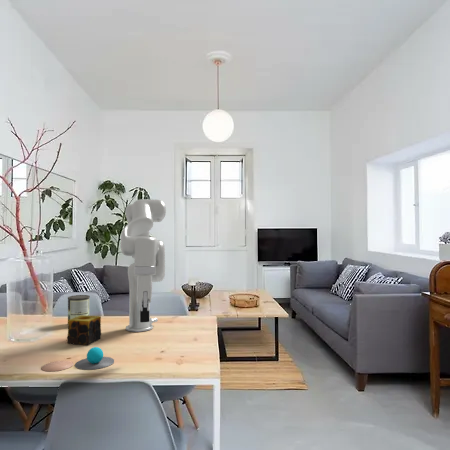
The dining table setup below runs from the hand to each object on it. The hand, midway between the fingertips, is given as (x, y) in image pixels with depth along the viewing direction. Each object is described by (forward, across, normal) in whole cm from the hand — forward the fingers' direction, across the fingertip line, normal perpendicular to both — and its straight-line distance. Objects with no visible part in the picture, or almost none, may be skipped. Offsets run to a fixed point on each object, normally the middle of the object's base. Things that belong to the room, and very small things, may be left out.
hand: (144, 321), depth 134 cm
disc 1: (+13, 0, -29) cm, 32 cm away
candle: (+14, -29, -24) cm, 40 cm away
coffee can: (+14, -61, -30) cm, 70 cm away
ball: (+11, 0, -17) cm, 20 cm away
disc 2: (+13, 0, -17) cm, 22 cm away
